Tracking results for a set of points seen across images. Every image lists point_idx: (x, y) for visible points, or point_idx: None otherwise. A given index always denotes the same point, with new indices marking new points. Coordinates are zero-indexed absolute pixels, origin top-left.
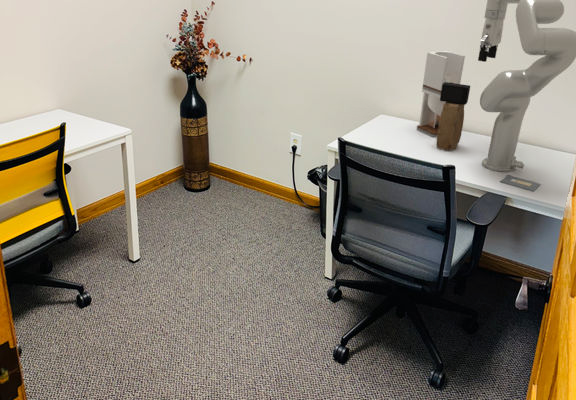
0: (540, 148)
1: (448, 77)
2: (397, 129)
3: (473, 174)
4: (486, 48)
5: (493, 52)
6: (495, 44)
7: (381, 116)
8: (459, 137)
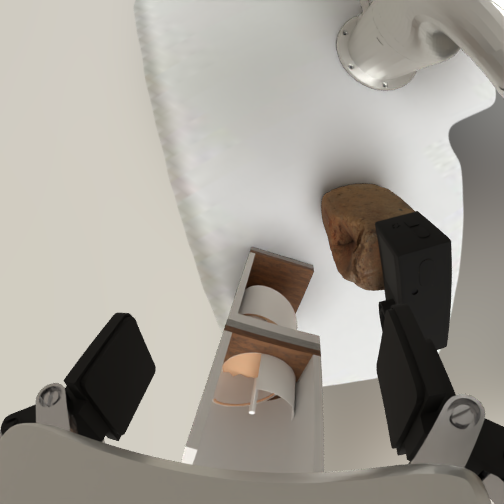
0: (158, 43)
1: (268, 389)
2: (321, 342)
3: (462, 85)
4: (479, 433)
5: (116, 367)
6: (272, 492)
7: None
8: (345, 190)
